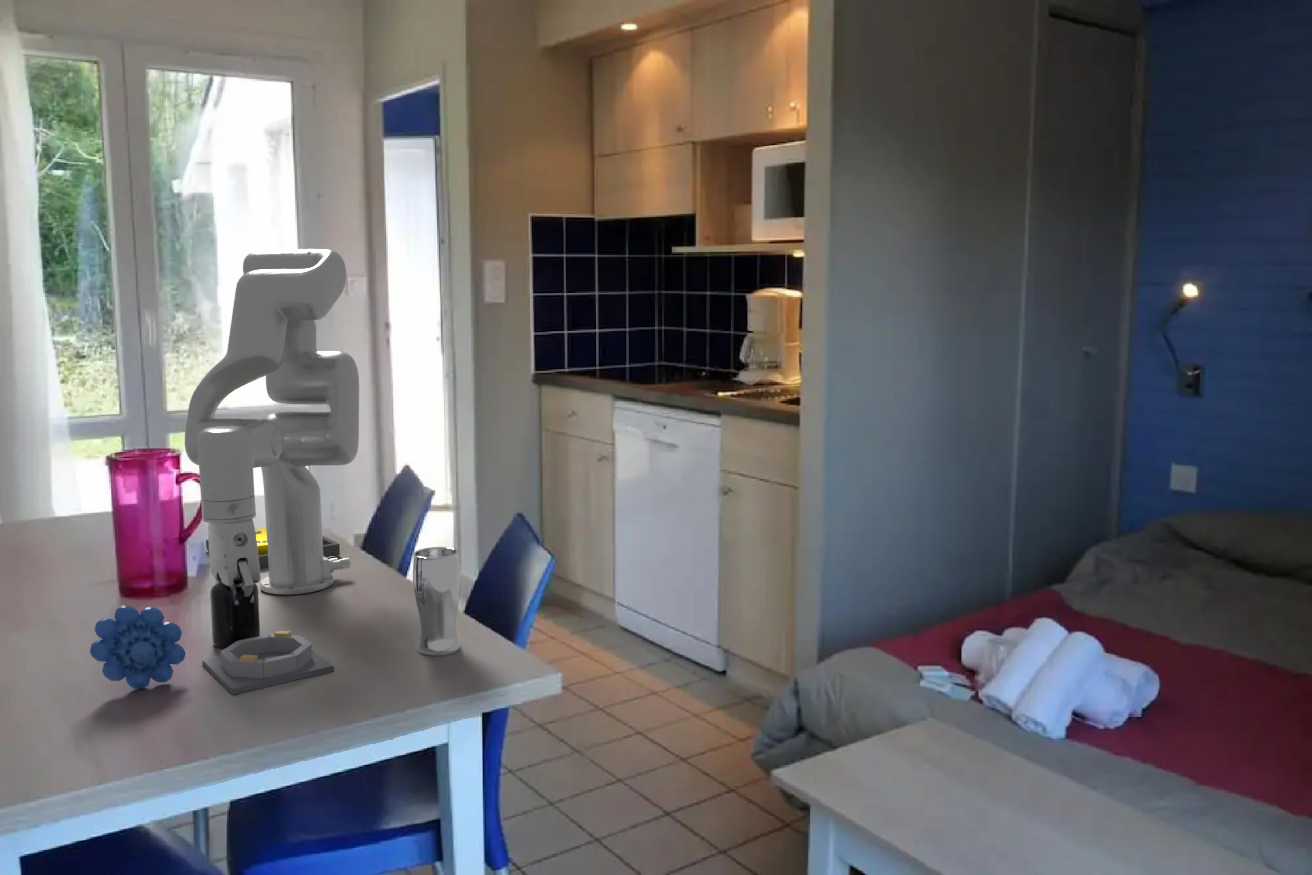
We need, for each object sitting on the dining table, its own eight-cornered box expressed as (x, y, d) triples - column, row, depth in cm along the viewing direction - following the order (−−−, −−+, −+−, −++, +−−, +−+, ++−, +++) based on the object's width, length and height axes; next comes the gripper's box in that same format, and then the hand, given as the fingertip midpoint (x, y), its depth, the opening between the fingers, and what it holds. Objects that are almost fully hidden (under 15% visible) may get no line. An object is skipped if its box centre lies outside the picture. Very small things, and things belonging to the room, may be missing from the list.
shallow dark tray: (303, 536, 230) (303, 525, 230) (339, 556, 215) (339, 543, 214) (206, 551, 218) (205, 539, 218) (237, 573, 203) (236, 560, 202)
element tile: (234, 570, 206) (232, 546, 205) (219, 553, 219) (217, 530, 218) (313, 559, 214) (312, 536, 213) (294, 543, 227) (293, 521, 226)
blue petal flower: (99, 708, 140) (91, 620, 138) (91, 692, 145) (83, 606, 143) (194, 688, 146) (188, 604, 145) (183, 674, 152) (177, 592, 150)
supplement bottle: (244, 651, 161) (239, 573, 159) (203, 648, 162) (198, 571, 160) (269, 636, 168) (265, 561, 166) (230, 633, 169) (225, 559, 167)
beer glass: (422, 660, 157) (419, 560, 155) (410, 645, 163) (406, 549, 161) (468, 652, 160) (465, 554, 158) (454, 638, 166) (451, 544, 164)
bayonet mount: (298, 644, 164) (297, 621, 163) (333, 671, 153) (332, 646, 152) (202, 665, 155) (200, 641, 155) (232, 694, 144) (231, 669, 144)
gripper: (273, 515, 157) (280, 632, 160) (236, 496, 171) (242, 604, 173) (220, 522, 153) (228, 642, 155) (186, 502, 166) (194, 613, 169)
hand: (235, 621), depth 164 cm, fingers closed on supplement bottle, 6 cm apart
